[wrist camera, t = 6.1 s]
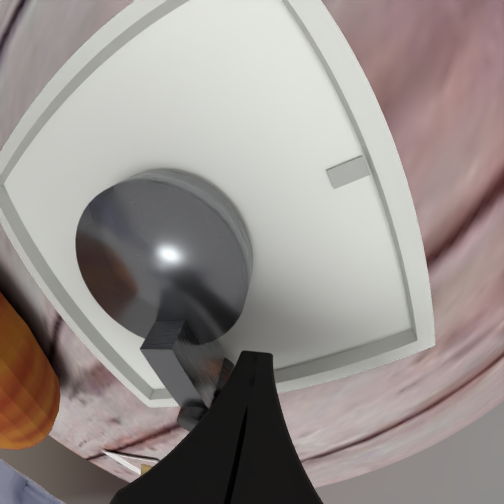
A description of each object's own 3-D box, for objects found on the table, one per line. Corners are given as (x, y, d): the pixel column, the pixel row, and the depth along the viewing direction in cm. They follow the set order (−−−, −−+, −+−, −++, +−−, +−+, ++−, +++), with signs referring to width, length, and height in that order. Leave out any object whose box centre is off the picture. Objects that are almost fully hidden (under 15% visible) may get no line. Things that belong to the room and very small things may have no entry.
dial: (76, 196, 9) (16, 233, 6) (225, 147, 8) (186, 172, 5) (168, 377, 13) (147, 427, 10) (285, 376, 12) (280, 438, 9)
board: (158, 386, 16) (149, 407, 15) (6, 174, 11) (-17, 185, 9) (423, 318, 11) (435, 345, 10) (270, -42, 5) (265, -66, 4)
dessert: (103, 445, 30) (92, 469, 26) (158, 454, 26) (147, 485, 22) (155, 477, 34) (148, 498, 30) (212, 484, 31) (206, 510, 26)
